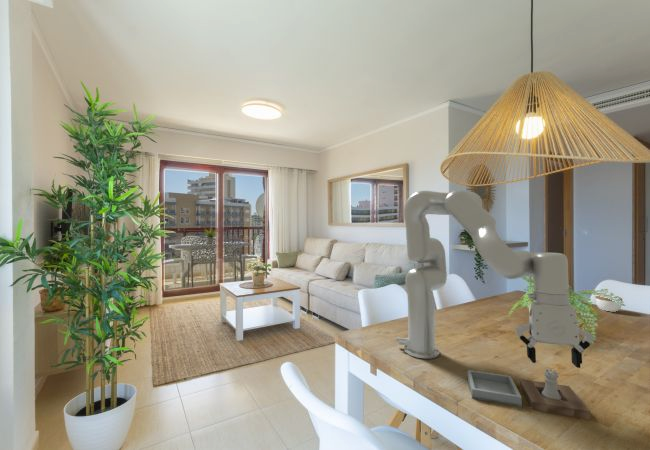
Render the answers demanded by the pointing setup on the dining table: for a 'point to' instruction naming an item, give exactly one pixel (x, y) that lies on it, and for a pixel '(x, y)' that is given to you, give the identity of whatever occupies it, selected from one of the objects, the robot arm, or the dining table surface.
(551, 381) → the rook chess piece
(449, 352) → the dining table surface
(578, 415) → the socket block
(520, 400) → the tray
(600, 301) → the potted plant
